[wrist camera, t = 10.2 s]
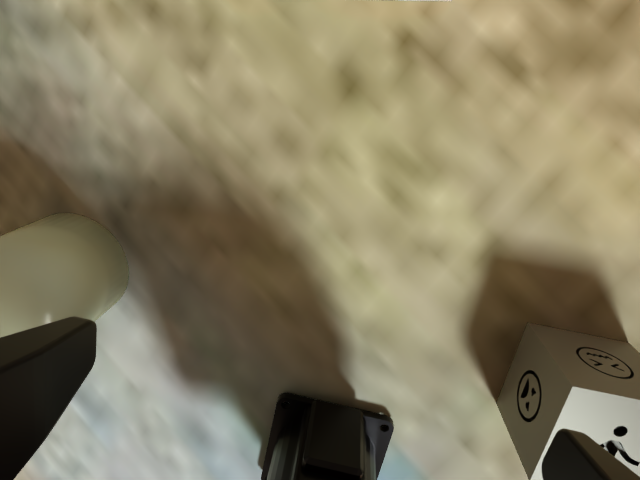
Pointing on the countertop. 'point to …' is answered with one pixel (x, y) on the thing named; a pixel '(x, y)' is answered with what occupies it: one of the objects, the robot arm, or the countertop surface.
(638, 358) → the dice cube
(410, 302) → the countertop surface
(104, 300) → the sage jar
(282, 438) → the robot arm
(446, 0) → the tile
